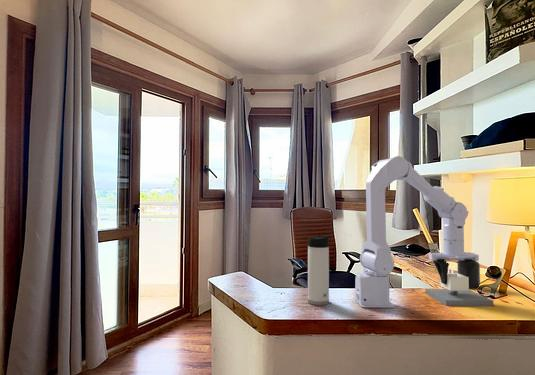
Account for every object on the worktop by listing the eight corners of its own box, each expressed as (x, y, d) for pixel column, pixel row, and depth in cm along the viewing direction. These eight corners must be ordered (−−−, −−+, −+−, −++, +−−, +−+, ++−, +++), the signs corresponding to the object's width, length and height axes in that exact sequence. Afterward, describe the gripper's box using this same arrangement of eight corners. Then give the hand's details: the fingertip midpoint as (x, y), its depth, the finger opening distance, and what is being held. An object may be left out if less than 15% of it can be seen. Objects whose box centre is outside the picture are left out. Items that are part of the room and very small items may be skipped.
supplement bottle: (484, 289, 111) (484, 254, 111) (464, 289, 111) (464, 254, 111) (472, 284, 117) (471, 251, 118) (453, 284, 118) (453, 251, 118)
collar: (450, 290, 96) (450, 277, 97) (440, 285, 102) (440, 273, 102) (468, 290, 96) (468, 277, 97) (457, 285, 102) (457, 273, 102)
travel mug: (331, 305, 92) (331, 236, 93) (308, 305, 92) (308, 236, 93) (328, 299, 98) (328, 234, 99) (307, 298, 99) (307, 234, 99)
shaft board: (445, 305, 93) (445, 283, 93) (425, 293, 105) (425, 273, 105) (493, 305, 93) (492, 283, 93) (467, 293, 105) (467, 274, 105)
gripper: (436, 241, 96) (437, 286, 95) (485, 241, 96) (485, 287, 95) (425, 238, 103) (426, 280, 102) (470, 238, 103) (470, 281, 102)
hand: (454, 283), depth 99 cm, fingers closed on collar, 6 cm apart
